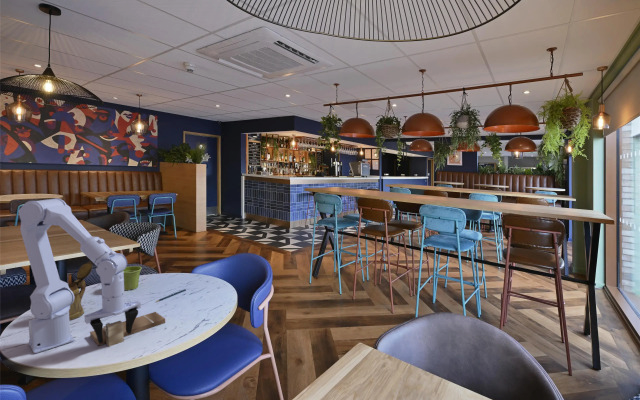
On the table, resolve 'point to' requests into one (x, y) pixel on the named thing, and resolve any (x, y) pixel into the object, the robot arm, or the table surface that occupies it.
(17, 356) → the table surface
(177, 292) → the pencil
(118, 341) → the marking gauge
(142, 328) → the walnut board
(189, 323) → the table surface
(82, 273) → the wooden mug
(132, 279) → the plant pot
